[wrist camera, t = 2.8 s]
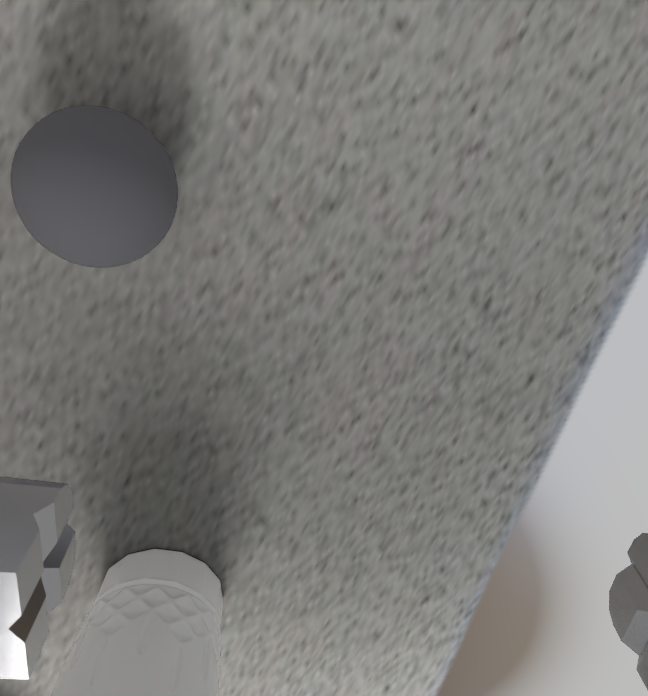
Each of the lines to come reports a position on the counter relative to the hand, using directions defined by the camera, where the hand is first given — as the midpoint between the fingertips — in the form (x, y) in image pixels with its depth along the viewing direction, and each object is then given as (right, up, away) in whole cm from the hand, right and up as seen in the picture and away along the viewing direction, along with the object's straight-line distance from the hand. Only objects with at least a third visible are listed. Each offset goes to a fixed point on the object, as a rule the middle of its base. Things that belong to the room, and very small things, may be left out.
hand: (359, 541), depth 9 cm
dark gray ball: (-8, +8, +13) cm, 17 cm away
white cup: (-10, -11, +26) cm, 30 cm away
